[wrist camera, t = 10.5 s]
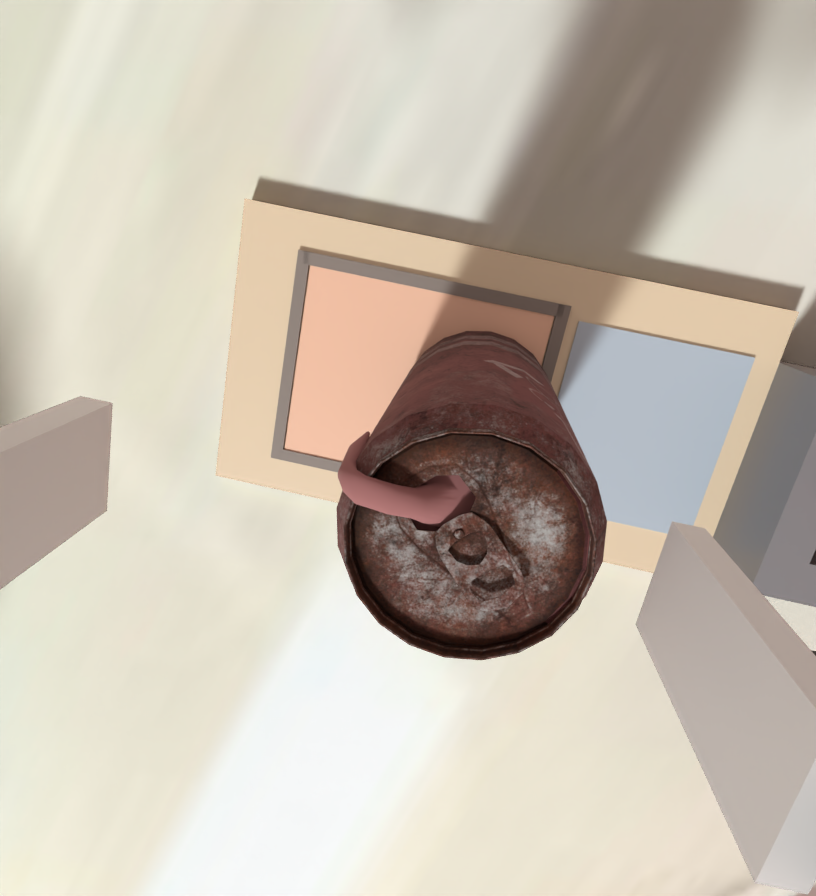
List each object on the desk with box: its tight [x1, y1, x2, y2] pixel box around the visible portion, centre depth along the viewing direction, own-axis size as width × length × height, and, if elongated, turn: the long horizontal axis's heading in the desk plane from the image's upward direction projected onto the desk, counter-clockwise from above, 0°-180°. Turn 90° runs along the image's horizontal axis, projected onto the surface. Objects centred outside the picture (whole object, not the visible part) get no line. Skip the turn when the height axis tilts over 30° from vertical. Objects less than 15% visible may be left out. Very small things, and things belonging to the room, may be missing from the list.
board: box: [216, 199, 799, 573], centre depth 27 cm, size 22×12×1 cm, turn 79°
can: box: [337, 331, 607, 660], centre depth 20 cm, size 6×6×14 cm
